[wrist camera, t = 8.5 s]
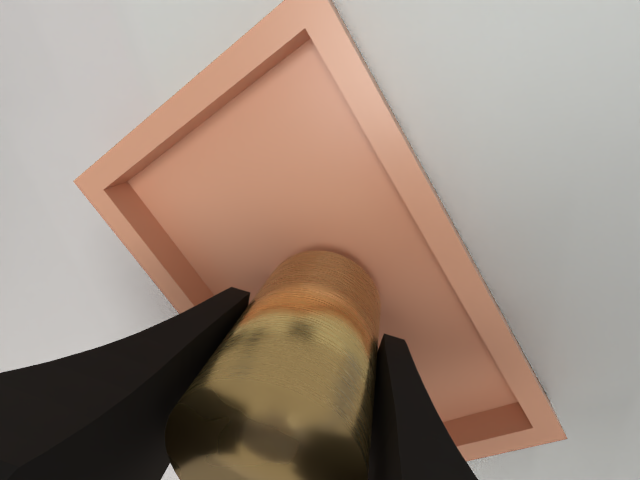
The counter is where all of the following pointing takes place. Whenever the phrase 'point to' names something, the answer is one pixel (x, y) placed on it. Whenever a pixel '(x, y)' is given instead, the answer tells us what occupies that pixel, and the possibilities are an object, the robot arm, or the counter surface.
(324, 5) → the terracotta tray
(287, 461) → the cylinder
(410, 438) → the robot arm
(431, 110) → the counter surface
